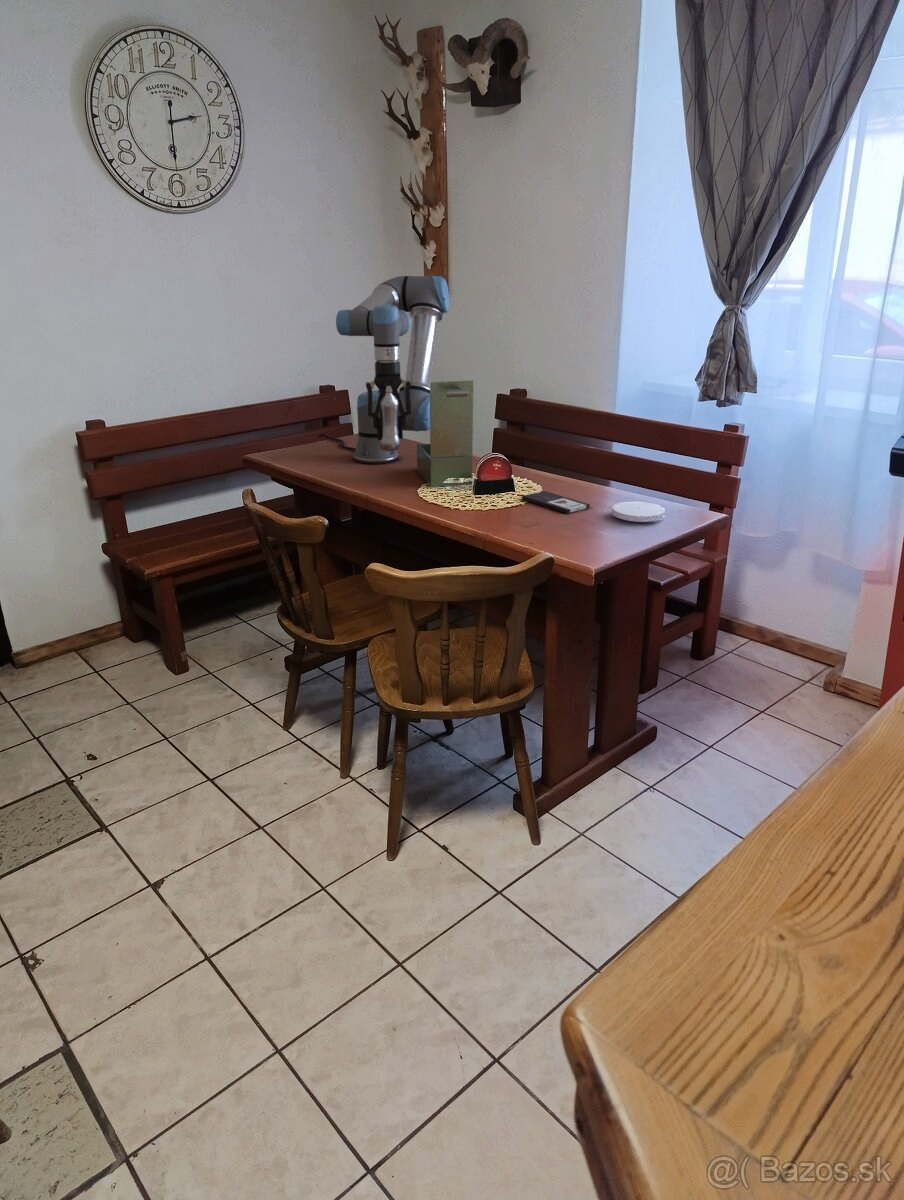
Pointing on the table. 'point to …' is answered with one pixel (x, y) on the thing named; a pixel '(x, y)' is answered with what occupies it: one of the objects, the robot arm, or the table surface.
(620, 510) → the plastic lid
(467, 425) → the bin lid
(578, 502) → the chocolate bar
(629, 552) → the table surface
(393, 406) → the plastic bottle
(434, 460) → the green open box
